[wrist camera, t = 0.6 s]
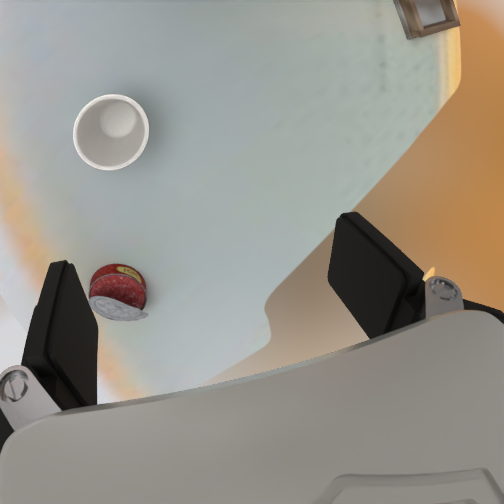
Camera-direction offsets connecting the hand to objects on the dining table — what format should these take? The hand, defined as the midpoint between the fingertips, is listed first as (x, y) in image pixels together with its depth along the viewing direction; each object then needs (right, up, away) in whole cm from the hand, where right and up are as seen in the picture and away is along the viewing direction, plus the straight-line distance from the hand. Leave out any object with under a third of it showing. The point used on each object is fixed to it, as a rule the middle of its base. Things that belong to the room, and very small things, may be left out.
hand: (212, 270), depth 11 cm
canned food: (-21, -5, +41) cm, 46 cm away
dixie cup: (-16, +18, +27) cm, 36 cm away
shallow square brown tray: (+31, +45, +26) cm, 60 cm away
